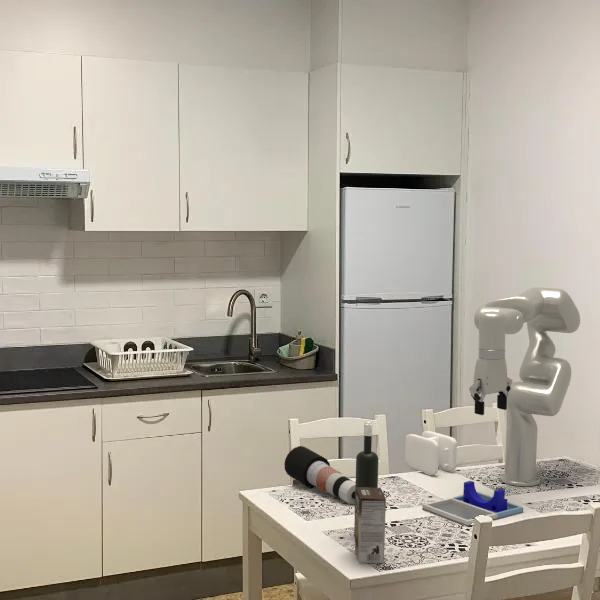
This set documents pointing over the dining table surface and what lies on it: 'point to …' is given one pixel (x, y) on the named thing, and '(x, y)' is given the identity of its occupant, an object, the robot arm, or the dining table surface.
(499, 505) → the blue u-shaped cradle
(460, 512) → the grey divided tray
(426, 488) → the dining table surface
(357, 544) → the coffee box
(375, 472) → the wine bottle
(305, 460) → the telephoto camera lens
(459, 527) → the dining table surface
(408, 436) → the organizer
